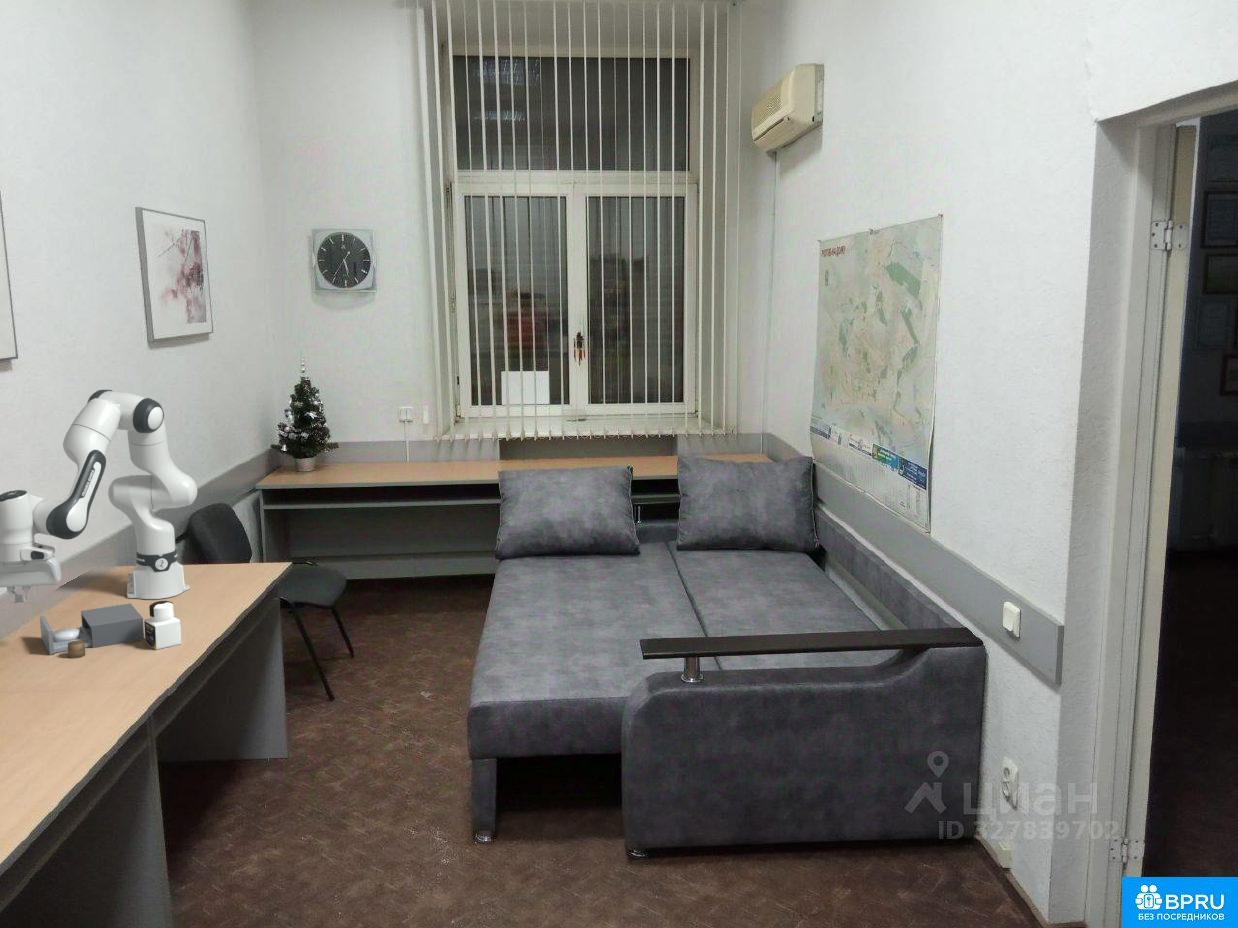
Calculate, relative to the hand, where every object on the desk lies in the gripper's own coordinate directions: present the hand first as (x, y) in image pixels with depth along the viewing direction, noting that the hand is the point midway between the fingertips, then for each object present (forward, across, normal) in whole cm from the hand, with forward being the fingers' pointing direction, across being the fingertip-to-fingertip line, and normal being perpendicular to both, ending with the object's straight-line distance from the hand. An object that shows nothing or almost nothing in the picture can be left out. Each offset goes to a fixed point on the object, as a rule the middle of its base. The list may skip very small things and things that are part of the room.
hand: (19, 601), depth 268 cm
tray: (+14, +11, +5) cm, 18 cm away
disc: (+12, +10, +4) cm, 16 cm away
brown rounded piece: (+14, +14, -7) cm, 21 cm away
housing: (+14, +20, +8) cm, 26 cm away
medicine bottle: (+14, +35, -2) cm, 38 cm away
